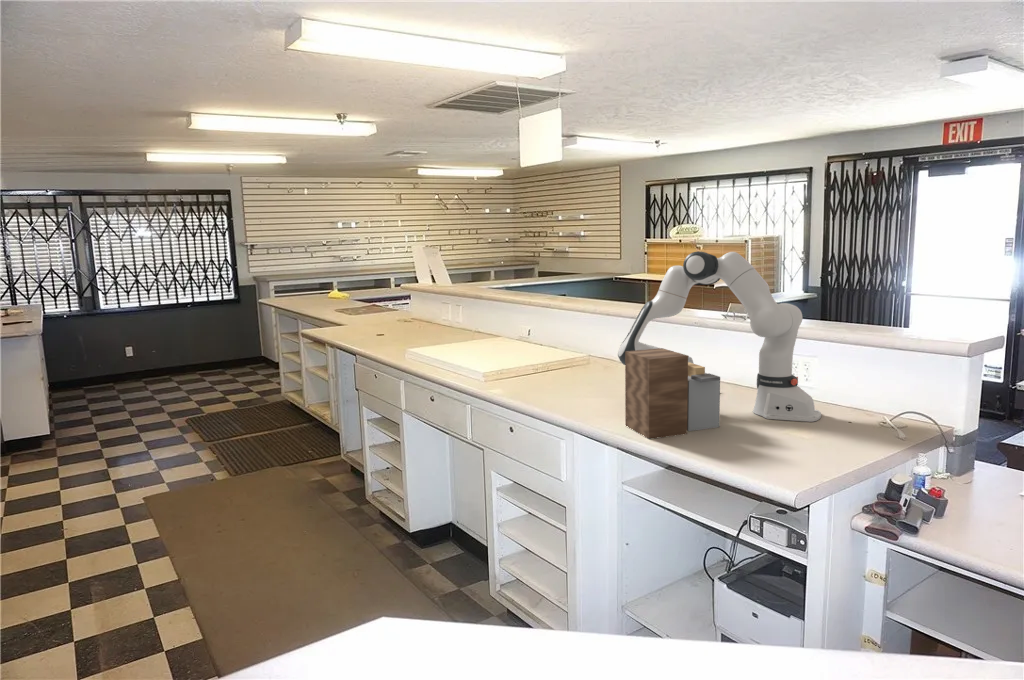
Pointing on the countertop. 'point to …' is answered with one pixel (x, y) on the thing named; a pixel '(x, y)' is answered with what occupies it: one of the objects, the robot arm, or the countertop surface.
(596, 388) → the countertop surface
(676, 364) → the pedestal
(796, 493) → the countertop surface
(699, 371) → the wooden bar
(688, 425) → the step
